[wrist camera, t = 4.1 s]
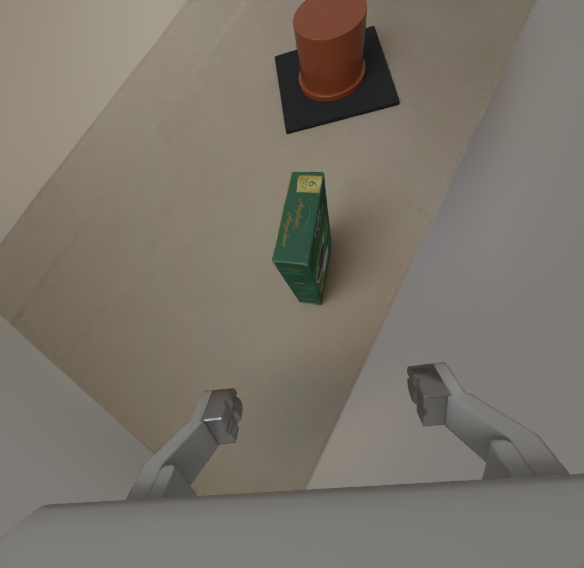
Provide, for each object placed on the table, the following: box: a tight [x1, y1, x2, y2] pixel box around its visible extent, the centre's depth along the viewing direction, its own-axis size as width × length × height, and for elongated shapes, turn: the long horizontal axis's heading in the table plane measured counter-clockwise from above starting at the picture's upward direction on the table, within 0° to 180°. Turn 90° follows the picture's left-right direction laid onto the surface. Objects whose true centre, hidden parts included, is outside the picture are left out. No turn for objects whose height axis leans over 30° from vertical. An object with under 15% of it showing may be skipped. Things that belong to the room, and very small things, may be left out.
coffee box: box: [272, 172, 331, 305], centre depth 25 cm, size 8×3×13 cm, turn 171°
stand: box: [293, 0, 367, 102], centre depth 35 cm, size 10×10×8 cm
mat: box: [275, 26, 400, 134], centre depth 38 cm, size 16×16×1 cm
